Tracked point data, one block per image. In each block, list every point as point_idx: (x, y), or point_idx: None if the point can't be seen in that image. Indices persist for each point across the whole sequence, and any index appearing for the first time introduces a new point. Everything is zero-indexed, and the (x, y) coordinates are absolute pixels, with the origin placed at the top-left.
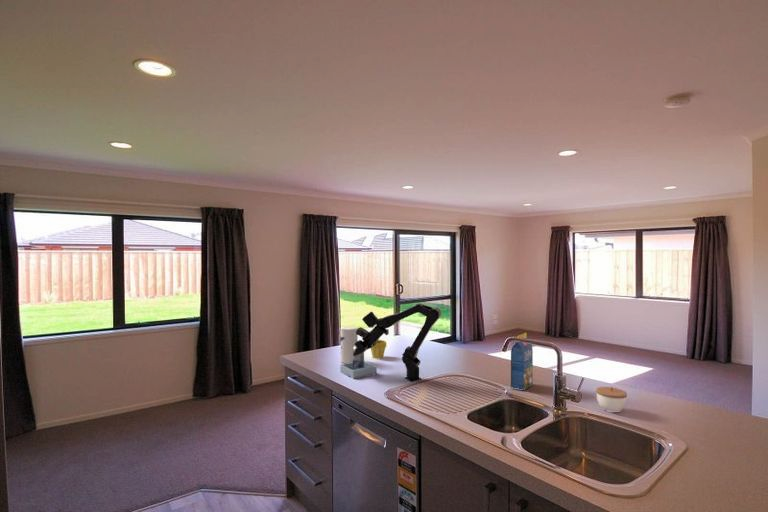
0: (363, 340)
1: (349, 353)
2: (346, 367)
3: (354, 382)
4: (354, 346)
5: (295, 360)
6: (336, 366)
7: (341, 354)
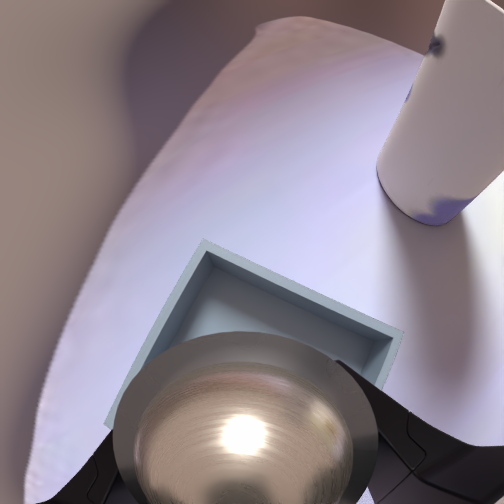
0: (469, 501)
1: (423, 166)
2: (153, 331)
3: (88, 441)
4: (144, 410)
5: (270, 36)
6: (304, 170)
7: (393, 126)
